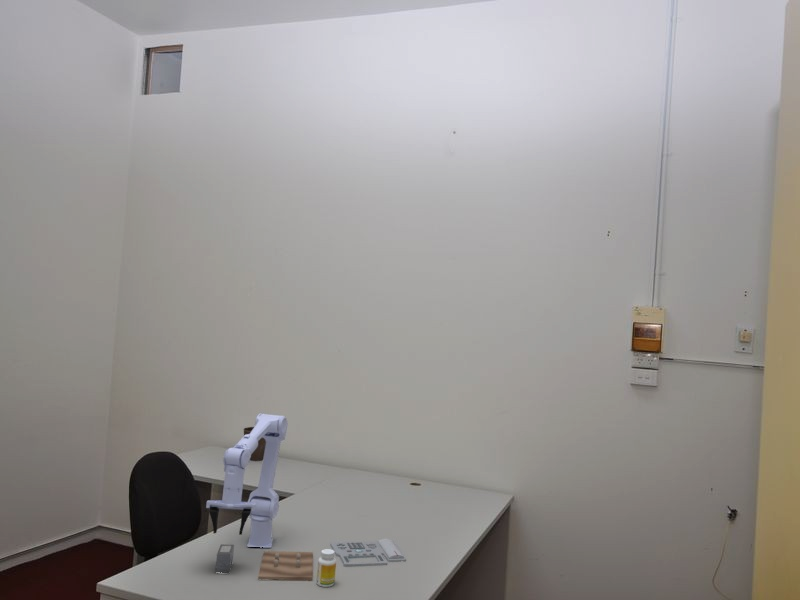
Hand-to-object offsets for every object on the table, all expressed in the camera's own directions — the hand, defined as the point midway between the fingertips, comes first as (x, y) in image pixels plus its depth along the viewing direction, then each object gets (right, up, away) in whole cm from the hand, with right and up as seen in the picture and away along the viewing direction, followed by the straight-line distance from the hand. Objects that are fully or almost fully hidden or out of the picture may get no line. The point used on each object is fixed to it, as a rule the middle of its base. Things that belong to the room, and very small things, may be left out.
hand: (227, 533), depth 193 cm
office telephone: (+42, -16, +21) cm, 50 cm away
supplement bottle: (+30, -14, -5) cm, 34 cm away
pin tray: (+17, -13, +6) cm, 22 cm away
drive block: (-1, -12, +1) cm, 12 cm away
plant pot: (-24, -14, +142) cm, 145 cm away
